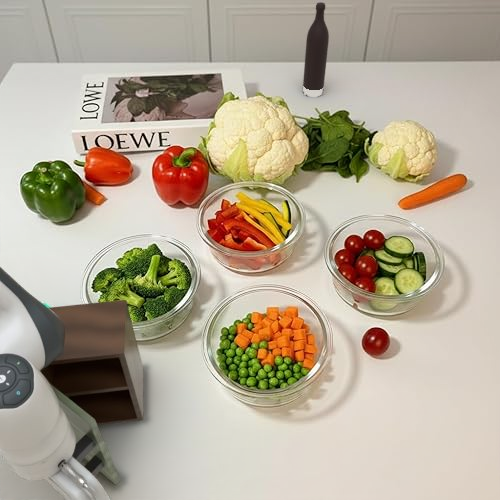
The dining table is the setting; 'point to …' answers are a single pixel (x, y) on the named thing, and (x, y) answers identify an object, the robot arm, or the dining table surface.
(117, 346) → the cupboard
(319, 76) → the wine bottle
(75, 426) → the cupboard door
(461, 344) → the dining table surface
